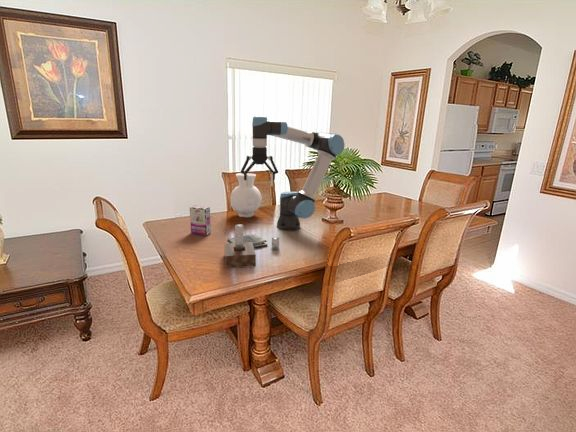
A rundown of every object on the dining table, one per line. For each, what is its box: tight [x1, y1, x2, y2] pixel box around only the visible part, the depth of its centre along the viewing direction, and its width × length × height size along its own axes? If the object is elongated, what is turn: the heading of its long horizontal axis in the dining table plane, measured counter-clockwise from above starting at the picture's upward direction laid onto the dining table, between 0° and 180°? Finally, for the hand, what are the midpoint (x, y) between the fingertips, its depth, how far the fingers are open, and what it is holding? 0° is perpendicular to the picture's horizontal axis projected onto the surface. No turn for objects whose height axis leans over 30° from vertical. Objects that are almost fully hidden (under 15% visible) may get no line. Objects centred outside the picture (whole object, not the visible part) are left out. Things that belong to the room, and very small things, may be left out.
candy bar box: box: [189, 205, 212, 237], centre depth 197 cm, size 11×5×16 cm, turn 70°
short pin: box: [271, 236, 280, 251], centre depth 179 cm, size 4×4×6 cm
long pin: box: [234, 223, 245, 251], centre depth 162 cm, size 4×4×18 cm
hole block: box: [224, 242, 257, 269], centre depth 164 cm, size 14×16×6 cm
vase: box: [230, 172, 263, 218], centre depth 232 cm, size 19×21×30 cm
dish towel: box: [227, 233, 268, 250], centre depth 186 cm, size 19×18×3 cm
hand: (259, 186), depth 182 cm, fingers open, 13 cm apart
